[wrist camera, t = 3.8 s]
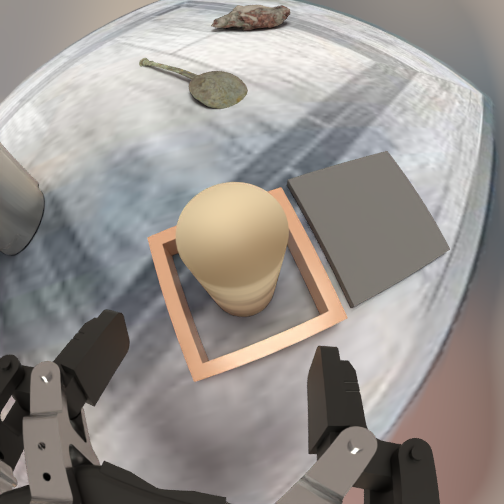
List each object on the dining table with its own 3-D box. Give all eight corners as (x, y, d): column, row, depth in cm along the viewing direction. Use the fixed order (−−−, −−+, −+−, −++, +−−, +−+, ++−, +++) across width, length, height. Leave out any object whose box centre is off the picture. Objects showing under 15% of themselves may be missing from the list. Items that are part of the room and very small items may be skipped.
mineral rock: (211, 34, 37) (209, 15, 33) (216, 22, 40) (214, 5, 36) (292, 34, 37) (294, 15, 33) (288, 21, 39) (289, 5, 35)
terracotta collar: (158, 249, 22) (147, 237, 19) (278, 203, 23) (281, 187, 21) (201, 378, 18) (194, 381, 16) (337, 321, 19) (347, 317, 17)
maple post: (203, 269, 21) (164, 204, 12) (259, 247, 22) (261, 169, 12) (225, 326, 20) (195, 303, 10) (284, 302, 20) (308, 258, 11)
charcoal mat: (286, 184, 24) (287, 179, 23) (384, 155, 25) (387, 151, 24) (350, 307, 20) (354, 306, 19) (445, 252, 21) (450, 249, 20)
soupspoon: (219, 123, 28) (257, 100, 30) (218, 101, 25) (259, 79, 27) (128, 74, 33) (160, 57, 35) (124, 58, 30) (157, 42, 32)
